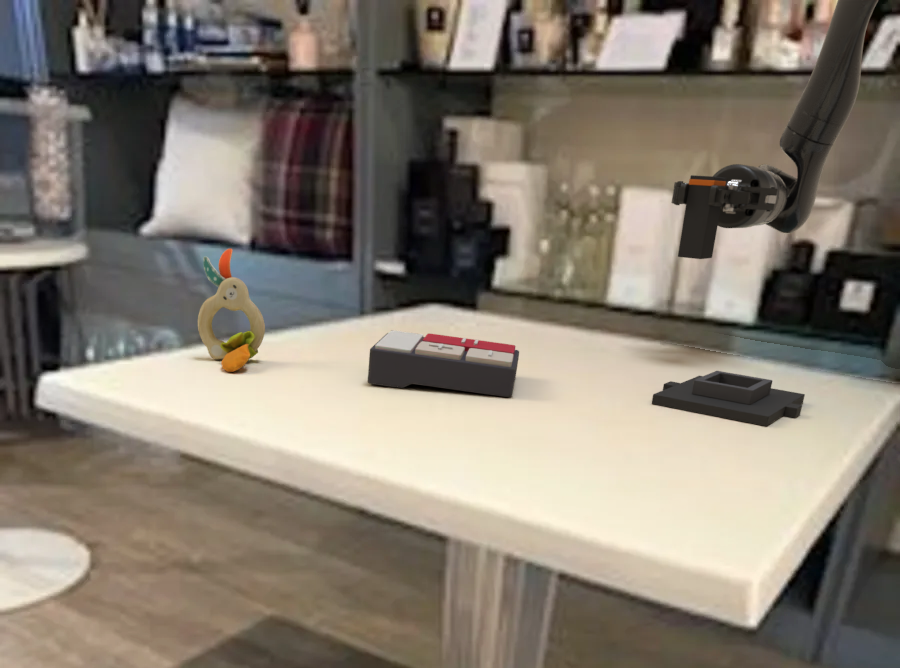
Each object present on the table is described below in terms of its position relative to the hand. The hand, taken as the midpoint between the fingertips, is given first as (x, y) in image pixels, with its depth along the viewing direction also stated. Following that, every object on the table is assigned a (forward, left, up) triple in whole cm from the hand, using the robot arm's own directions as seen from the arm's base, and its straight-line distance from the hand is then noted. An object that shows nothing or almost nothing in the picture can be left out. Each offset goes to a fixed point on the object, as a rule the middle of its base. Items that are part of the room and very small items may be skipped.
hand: (697, 194), depth 103 cm
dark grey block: (-3, -1, -7) cm, 8 cm away
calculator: (+33, -7, -20) cm, 39 cm away
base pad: (+13, +16, -20) cm, 28 cm away
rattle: (+49, -25, -20) cm, 58 cm away
